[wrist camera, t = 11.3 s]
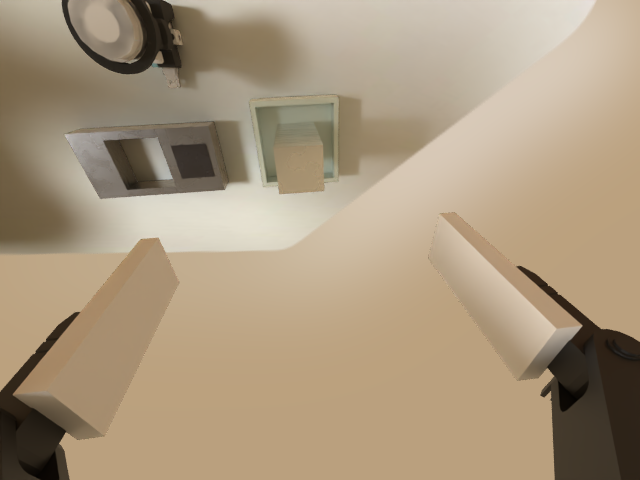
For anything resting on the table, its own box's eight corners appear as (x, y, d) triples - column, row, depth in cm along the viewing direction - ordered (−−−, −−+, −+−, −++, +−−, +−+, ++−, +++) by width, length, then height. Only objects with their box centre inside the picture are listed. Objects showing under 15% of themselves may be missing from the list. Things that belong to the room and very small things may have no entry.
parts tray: (264, 179, 33) (263, 187, 31) (251, 98, 28) (248, 101, 26) (335, 174, 33) (338, 181, 31) (335, 94, 28) (338, 97, 26)
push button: (204, 87, 27) (166, 97, 19) (149, 86, 26) (86, 96, 18) (187, 0, 23) (131, -35, 15) (123, -3, 23) (29, -41, 14)
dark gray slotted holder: (112, 189, 32) (99, 199, 30) (80, 128, 28) (63, 134, 26) (228, 181, 33) (224, 190, 30) (213, 121, 29) (207, 126, 27)
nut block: (281, 159, 31) (279, 194, 23) (277, 123, 29) (273, 147, 21) (314, 157, 32) (324, 190, 23) (313, 121, 29) (323, 144, 21)
